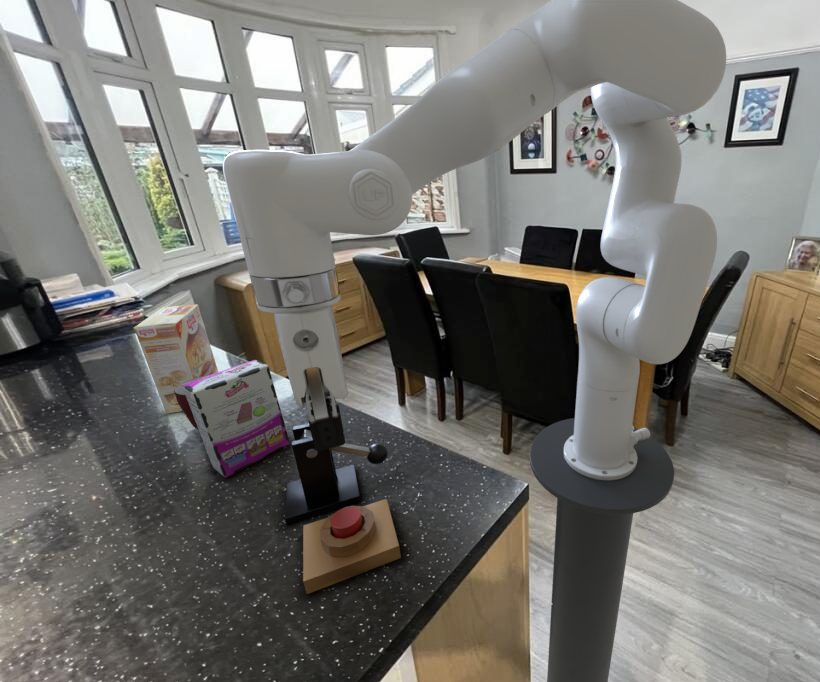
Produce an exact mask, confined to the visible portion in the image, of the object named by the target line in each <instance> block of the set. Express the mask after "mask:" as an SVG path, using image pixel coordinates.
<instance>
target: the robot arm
mask: <svg viewBox="0 0 820 682" xmlns="http://www.w3.org/2000/svg"><path fill="white" fill-rule="evenodd" d="M724 40H725V39H724V37H723V36H722V34H721V31H720V30H719V28H718V27H717V25H716V24H715V23H714V21H712V20H711V19H710V18H709V17H708V16H706V15H705V14H703V13H702V12H701V11H699V10H697V9H695V8H693V7H692V6H690V5H688V4H686V3H684V2H682V1H680V0H549V1H548V2H546V3H545V4H543V5H542V6H541V7H539V8H538V9H536V10H535V11H533V12H532V13H531V14H529V15H528V16H526V17H525V18H524V19H521V21H520V22H518V23H516V24H515V25H514V26H513V27H511V28H509V29H508V30H507V31H505V32H504V33H503V34H501V35H500V36H498V37H497V38H495V39H494V40H492V41H491V42H489V44H487V45H485V46H484V47H482V48H480V50H478V51H477V52H475V53H474V54H472V55H471V56H470V57H468V58H467V59H466V60H464V61H462V62H461V63H460V64H458V65H457V66H455V67H454V68H452V69H451V70H450V71H449V72H447V73H446V74H445V75H444V76H442V77H441V78H440V79H438V80H437V81H436V82H434V84H433V85H432V86H430V88H428V89H427V90H426V92H424V93H423V94H422V95H421V96H420V98H418V99H417V100H416V101H415V102H413V103H412V104H411V105H410V106H409V107H407V108H406V109H405V110H404V111H402V113H400V114H398V115H397V116H396V117H395V118H394V119H392V120H391V121H389V122H388V123H386V124H385V125H384V126H382V127H381V128H379V129H378V130H377V131H376V132H374V133H373V134H371V135H370V136H368V137H367V138H365V139H364V140H363V141H361V142H360V143H359V144H357V145H355V146H354V147H352V148H351V149H350V150H346V151H345V150H344V151H338V152H328V153H327V152H326V153H314V154H312V153H311V154H304V153H300V152H295V151H288V150H287V151H286V150H271V149H269V150H268V149H252V150H251V149H248V150H247V149H246V150H244V149H243V150H236V151H233V152H230V153H229V154H227V155H226V156H225V158H224V160H223V164H222V171H223V177H224V180H225V184H226V188H227V192H228V197H229V201H230V205H231V208H232V212H233V216H234V220H235V223H236V227H237V232H238V235H239V239H240V243H241V247H242V251H243V255H244V261H245V263H246V268H247V272H248V274H249V280H250V283H251V287H252V291H253V294H254V299H255V302H256V308H257V310H259V311H260V312H262V313H267V314H272V315H273V319H274V324H275V326H276V327H275V328H276V333H277V337H278V341H279V345H280V350H281V353H282V357H283V361H284V365H285V369H286V372H287V376H288V380H289V384H290V387H291V391H292V395H293V397H294V401H295V404H296V405H297V406H299V407H301V408H305V405H306V409H307V414H308V418H309V419H308V423H309V426H310V430H311V435H312V439H313V444H314V448H315V450H316V451H322V450H326V449H330V448H334V447H338V446H342V445H344V444H345V443H346V438H345V431H344V426H343V425H344V424H343V421H342V415H341V410H340V404H339V403H337V400H339V399H342V400H344V399H346V398H347V397H348V395H349V390H348V385H347V378H346V373H345V367H344V360H343V356H342V349H341V344H340V339H339V333H338V328H337V322H336V318H335V313H334V311H333V307H332V306H333V305H335V304H337V303H339V302H340V301H341V300H342V296H341V291H340V284H339V277H338V272H337V267H336V262H335V261H336V260H335V256H334V251H333V250H334V249H333V244H332V238H331V233H335V234H336V233H337V234H348V235H358V236H359V235H360V236H361V235H362V236H379V235H385V234H387V233H391V232H393V231H394V230H396V229H398V227H400V226H401V225H402V224H403V223H404V222H405V220H407V218H408V216H409V214H410V212H411V208H412V205H413V195H414V194H416V193H417V192H419V191H420V190H421V189H423V188H424V187H426V186H427V185H429V184H430V183H432V182H434V181H435V180H437V179H439V178H441V177H442V176H444V175H446V174H448V173H450V172H452V171H454V170H457V169H459V168H461V167H465V166H468V165H470V164H473V163H476V162H479V161H481V160H483V159H485V158H486V157H489V156H491V155H492V154H494V153H496V152H498V151H500V149H502V148H504V147H505V146H506V145H508V144H509V143H510V142H512V141H513V140H514V139H515V138H517V137H518V136H519V135H521V133H522V132H524V131H526V129H528V128H529V127H531V126H532V125H533V124H534V123H536V122H537V121H538V120H540V119H541V118H542V117H544V116H545V115H547V114H548V113H550V112H551V111H553V110H554V109H555V108H557V107H558V106H559V105H560V104H562V103H564V102H565V100H566V101H567V99H569V98H570V97H572V96H573V95H575V94H577V93H578V92H581V91H583V90H588V89H590V97H591V102H592V105H593V108H594V110H595V113H596V114H597V116H598V118H599V119H600V120H601V122H602V124H603V125H604V127H605V128H606V130H607V132H608V134H609V137H610V139H611V141H612V144H613V149H614V154H615V166H614V167H615V168H614V175H613V180H612V186H611V190H610V193H609V199H608V203H607V208H606V213H605V217H604V221H603V225H602V226H603V227H602V232H601V237H600V246H599V247H600V252H601V256H602V257H603V258H602V259H604V260H605V262H606V263H608V264H609V265H611V266H612V267H615V268H616V269H617V268H618V269H620V270H623V271H627V272H630V273H634V274H638V275H640V276H645V277H646V279H645V280H646V281H645V284H642V283H638V282H634V281H631V280H627V279H624V278H621V277H615V276H604V277H598V278H596V279H594V280H592V281H590V282H589V283H588V284H587V285H586V286H585V287H583V289H582V290H581V292H580V293H579V296H578V298H577V302H576V306H575V307H576V308H575V321H576V328H577V336H578V367H577V369H578V370H577V381H576V394H575V395H576V396H575V397H576V398H575V407H574V408H575V409H574V418H575V422H574V435H573V436H571V437H570V438H569V439H568V440H567V441H566V443H565V445H564V457H565V460H566V462H567V463H568V464H569V466H570V467H571V468H573V469H574V470H575V471H577V472H578V473H580V474H582V475H584V476H586V477H589V478H593V479H597V480H618V479H621V478H624V477H626V476H628V475H630V474H631V473H632V472H633V471H634V470H635V468H636V465H637V458H638V457H637V453H636V451H635V449H634V448H633V447H634V445H636V444H637V442H638V441H642V440H644V439H647V438H649V437H650V436H651V432H650V430H649V429H648V427H642V428H638V429H639V430H637V431H635V432H633V431H634V427H635V426H634V425H633V423H634V416H635V409H636V402H637V394H638V386H639V381H640V374H641V364H640V361H642V362H645V363H648V364H652V365H663V364H667V363H669V362H671V361H673V360H674V359H676V358H677V357H678V356H679V355H680V354H681V353H682V351H683V350H684V349H685V347H686V346H687V344H688V342H689V340H690V338H691V336H692V333H693V330H694V327H695V325H696V321H697V318H698V315H699V312H700V309H701V305H702V302H703V299H704V295H705V293H706V289H707V286H708V284H709V283H708V282H709V279H710V276H711V273H712V270H713V267H714V262H715V258H716V255H717V250H718V234H717V233H718V232H717V227H716V223H715V222H714V220H713V218H712V216H711V215H710V214H709V212H707V210H705V209H703V208H702V207H700V206H697V205H693V204H690V203H677V202H675V200H676V194H677V190H678V186H679V181H680V177H681V176H680V175H681V171H682V150H681V146H680V143H679V140H678V137H677V134H676V133H675V131H674V129H673V127H672V125H671V122H670V121H669V119H670V118H674V117H680V116H684V115H688V114H691V113H694V112H696V111H698V110H699V109H701V108H703V107H704V106H705V105H706V104H707V103H709V102H710V101H711V100H712V98H713V97H714V96H715V94H716V93H717V92H718V90H719V89H720V86H721V84H722V82H723V80H724V77H725V73H726V67H727V50H726V49H727V48H726V44H725V41H724Z"/></svg>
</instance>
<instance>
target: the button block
mask: <svg viewBox="0 0 820 682" xmlns="http://www.w3.org/2000/svg"><path fill="white" fill-rule="evenodd" d="M349 507H356V508H358V509H359V510H360V512H361V516H362V521H363V525H362V528H361V529H360V531H359V532H358V533H356V534H355V535H354V536H351V537H348V538H344V539H341V538H337V537H336V536H335V535H334V534H333V530H332V526H331V519H332V517H333V515H334V514H335V513H336V512H337V511H339V510H340V509H337V511H335V512H334V513H332V514H331V515H330V516H328V517H324V518H322V519H319V520H316V521H313V522H310V523H307V524H304V525H303V526H302V535H303V536H302V582H303V586H304V590H305V593H306V595H309V594H311V593H314V592H316V591H319V590H321V589H324V588H327V587H330V586H332V585H334V584H335V585H336V584H337V583H340V582H343V581H345V580H348V579H350V578H353V577H355V576H358V575H360V574H363V573H366V572H369V571H371V570H374V569H376V568H379V567H381V566H384V565H386V564H389V563H391V562H394V561H397V560H399V559H401V558H402V556H401V555H402V554H401V550H400V543H399V540H398V537H397V532H396V528H395V525H394V521H393V517H392V513H391V510H390V506H389V502H388V499H387V498H384V499H382V500H378V501H375V502H372V503H369V504H366V505H349Z"/></svg>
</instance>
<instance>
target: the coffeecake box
mask: <svg viewBox="0 0 820 682" xmlns="http://www.w3.org/2000/svg"><path fill="white" fill-rule="evenodd" d="M133 330H134V332H135V334H136V338H137V340H138V342H139V346H140V349H141V351H142V353H143V356H144V359H145V361H146V364H147V366H148V369H149V372H150V374H151V377H152V380H153V382H154V385H155V389H156V392H157V393H158V395H159V399H160V401H161V404H162V406H163V409H164V413H165V414H166V415H168V414H173V413H179V412H183V411H182V409H181V407H180V406H179V404H178V402H177V399H176V396H175V393H174V390H175V388H176V387H177V386H179V385H180V384H182V383H184V382H186V381H188V380H191V379H194V378H198V377H202V376H208V375H212V374H215V373H218V372H219V369H218V366H217V362H216V360H215V356H214V353H213V350H212V347H211V343H210V340H209V336H208V334H207V330H206V326H205V322H204V320H203V317H202V314H201V310H200V306H199V304H197V303H196V304H184V305H182V304H181V305H175V306H174V305H173V306H162V307H161V308H160V309H158V310H157V311H155V312H154V313H153V314H151V315H150V316H148V317H147V318H145V319H144V320H142V321H141V322H140V323H138V324H137V325H135V326H134V327H133Z"/></svg>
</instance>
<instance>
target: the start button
mask: <svg viewBox="0 0 820 682" xmlns="http://www.w3.org/2000/svg"><path fill="white" fill-rule="evenodd" d="M338 510H339V511H338ZM338 510H336V511H335V512H336V513H335V512H334V513H335V514H334V513H333V514H334V515H333V514H332V515H333V517H332V519H331V526H332V530H333V534H334V535H335V536H336V537H337V538H341V539H344V538H348V537H351V536H354V535H355V534H356V533H358V532H359V531H360V529H361V528H362V525H363V521H362V516H361V512H360V510H359V509H358V508H356V507H350V506H346V507H343V508H340V509H338Z"/></svg>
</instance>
